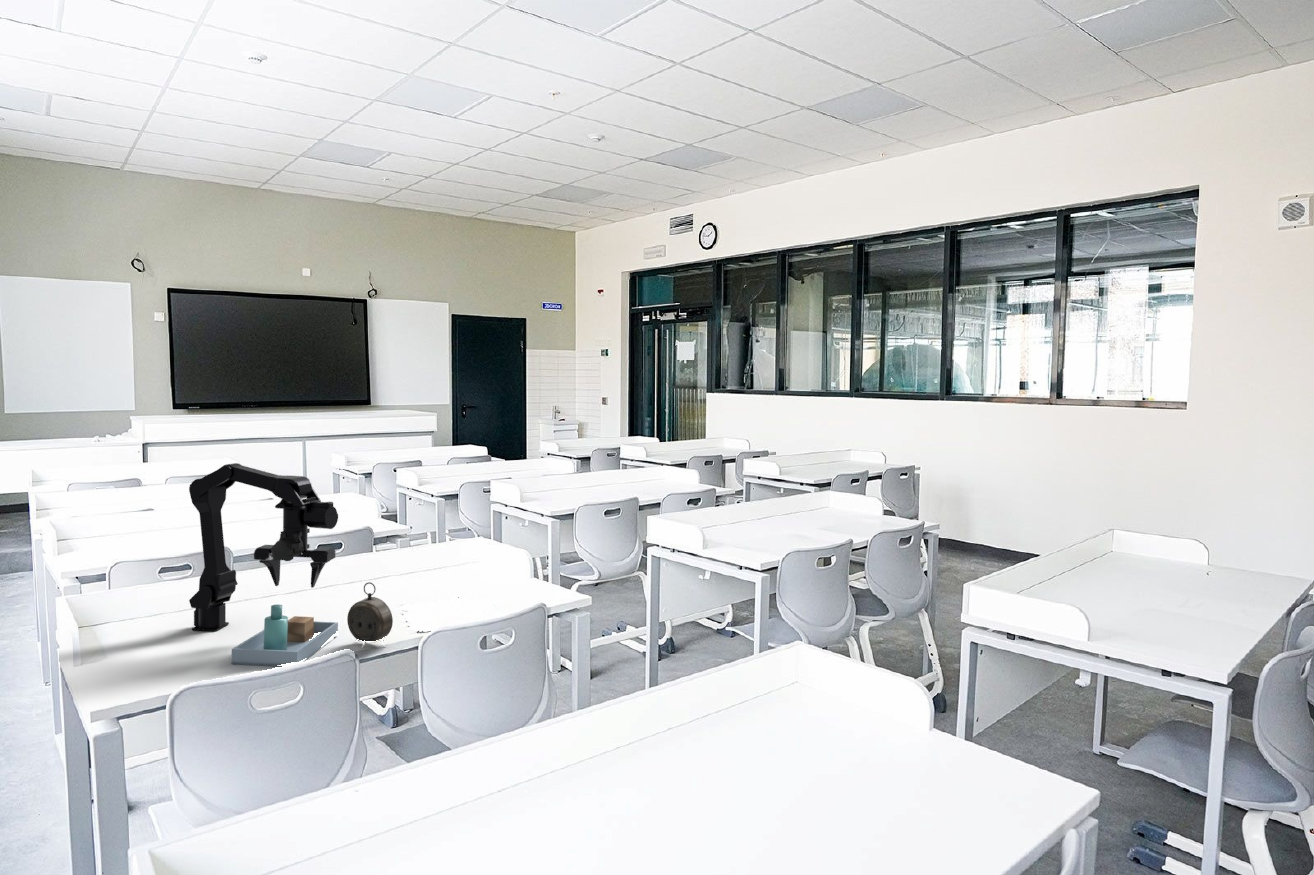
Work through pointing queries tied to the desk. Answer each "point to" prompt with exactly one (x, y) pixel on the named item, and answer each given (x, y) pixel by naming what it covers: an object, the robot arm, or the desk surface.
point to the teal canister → (275, 630)
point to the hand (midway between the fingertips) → (294, 586)
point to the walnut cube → (300, 629)
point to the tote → (296, 651)
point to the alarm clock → (370, 618)
